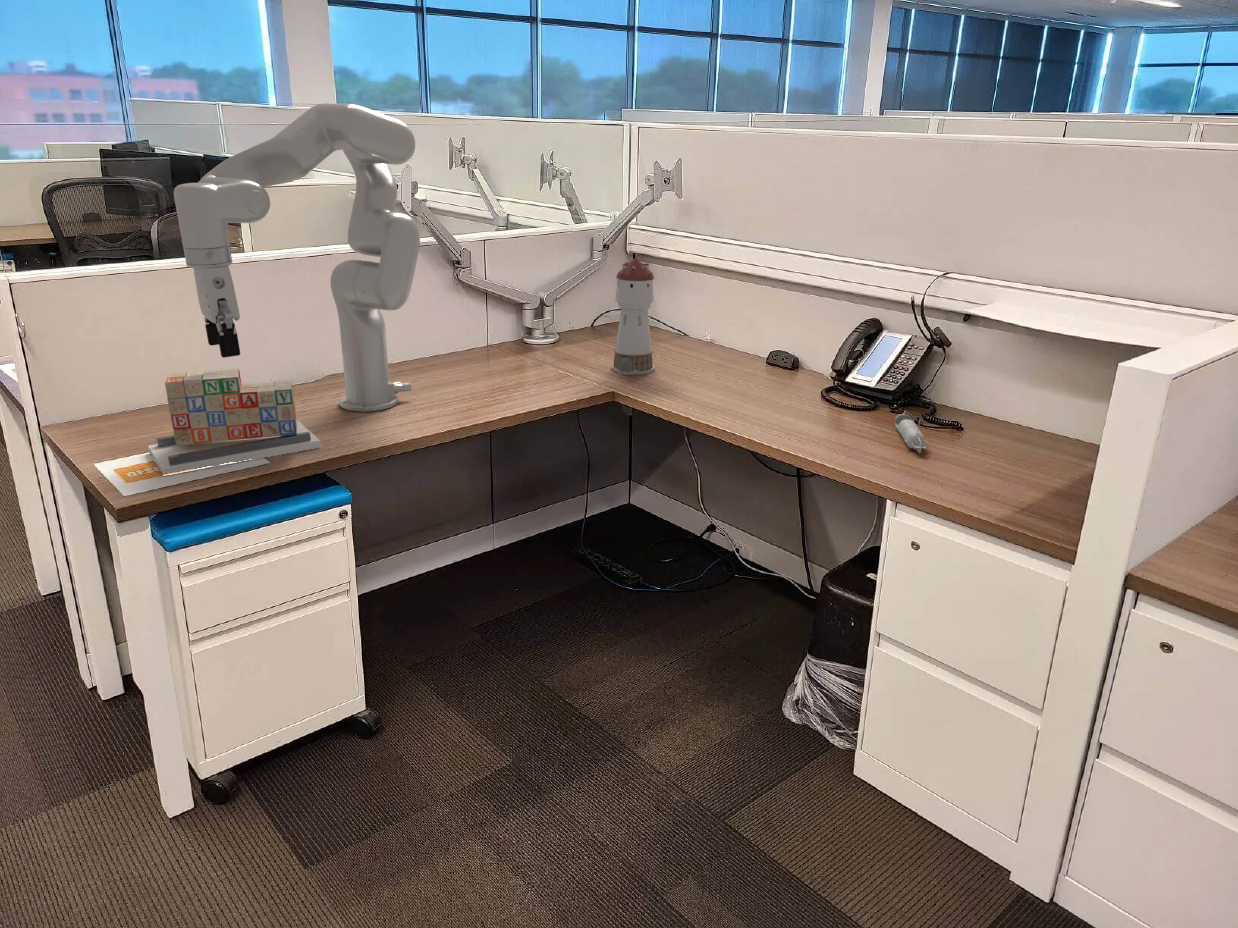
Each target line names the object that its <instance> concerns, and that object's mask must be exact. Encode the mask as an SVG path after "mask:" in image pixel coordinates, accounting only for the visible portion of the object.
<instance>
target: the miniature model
mask: <svg viewBox="0 0 1238 928" xmlns="http://www.w3.org/2000/svg"><path fill="white" fill-rule="evenodd" d="M634 255H635V257H634V258H633V259H632V260H631V261H629V262H625V263H623V264H622V268H621V269H620V270H619V271H618V272H617V275H616V276H615V278H616V293H615V301H616V303H617V305H618V306H617V307H618V308H620V315H619V321H618V328H617V334H616V339H615V340H616V341H615V347H614V350H613V354H614V356H613V357H614V358H613V363H612V364H611V370H612V371H614V372H615V373H617V374H618V375H624V376H625V375H626V376H630V375H645V374H651V373H653V372H654V371H655V368H656V367H655V365H654V364H653V353H654V350H653V348H652V340H651V339H652V337H651V330H650V319H649V318H650V317H649V311H648V310H649V309H650V308H651V304H652V303H653V302H654V300H655V299H654V279H655V277H654V274H653V272H652V271H651V270H650V269H649V268H650V267H649V266H650V265H649V263H643V262H642V261H640V259H638V258H637V253H635V254H634Z"/></svg>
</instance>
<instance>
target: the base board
mask: <svg viewBox="0 0 1238 928" xmlns="http://www.w3.org/2000/svg"><path fill="white" fill-rule="evenodd" d="M296 421H297V434H296V435H286V436H274V437H262V438H251V439H240V440H229V441H220V442H209V443H198V444H184V445H176V442H175V436H174V434H173V435H167V436H161V437H156V438H155V439H156V443H155V444H150V445H147V449H148V453H150V454H151V455H150V454H149V455H150V456H152V457H153V459H154V460H155V462H156V464H157V465H156V464H155V465H156V467H157V466H158V467H159V469H160V470H161V472H162V474H168V473H173V472H180V471H185V470H188V469H197V468H202V467H207V466H217V465H220V464H224V463H229V462H239V461H244V460H249V459H257V460H260V459H259V458H262V459H265V458H264V457H268V458H270V457H269V456H273V457H278V455H279V456H282V454H284V455H288V454H287V453H289V454H293V453H299V451H300V452H304V451H303V450H306V451H310V449H311V450H315V448H316V449H319V448H318V447H321V448H322V446H321V439H319V438H318V437H317V436H316V435H315V434H314V433H312V432H311V431H310V430H309V429H308V428H307V427H306V426H305V425H303V423H301V422H300V421H299V420H296ZM152 457H151V458H152ZM153 459H152V460H153ZM154 460H153V461H154ZM155 462H154V463H155ZM158 467H157V468H158ZM159 469H158V470H159ZM160 470H159V471H160ZM161 472H160V473H161ZM162 474H161V475H162Z"/></svg>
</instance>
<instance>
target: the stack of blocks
mask: <svg viewBox="0 0 1238 928" xmlns="http://www.w3.org/2000/svg"><path fill="white" fill-rule="evenodd" d="M164 381H165V382H164V386H165V392H166V397H167V399H166V400H167V404H168V410H169V414H170V419H171V423H172V429H173V435H174V436H175V442H176V445H184V444H198V443H209V442H220V441H229V440H240V439H251V438H262V437H274V436H286V435H296V434H297V421H298V420H297V415H296V408H295V407H296V406H295V399H294V391H293V383H292V380H281V381H279V380H278V381H265V382H247V383H242V380H241V372H240V368H228V369H213V370H211V369H210V370H201V371H189V372H185V371H184V372H173V373H172V372H170V373H169V374H168V375H167V377H166V380H164Z"/></svg>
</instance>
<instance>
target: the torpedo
mask: <svg viewBox="0 0 1238 928" xmlns="http://www.w3.org/2000/svg"><path fill="white" fill-rule="evenodd" d="M894 420H895V422H894V425H895V428H896V429H897V431H898V433H899V434H900V436H901V437H902V439H903V441H904V443H905V444H906V445H907V447H909V448H910V449H912V450H913V451H914V450H915V451H917V452H918V454H921V451H922V449H927V447H926V444H929V441H926V439H925V436H924V434H923V433H922V431H921V429H920V424H921V419H918V420H919V422H918V425H917V424H916V422H914V420H913V419H912V417H911V416H910V415H908V414H905V413H903V414H902V413H901V414H898V415H897V416H896V417H895V419H894Z"/></svg>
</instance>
